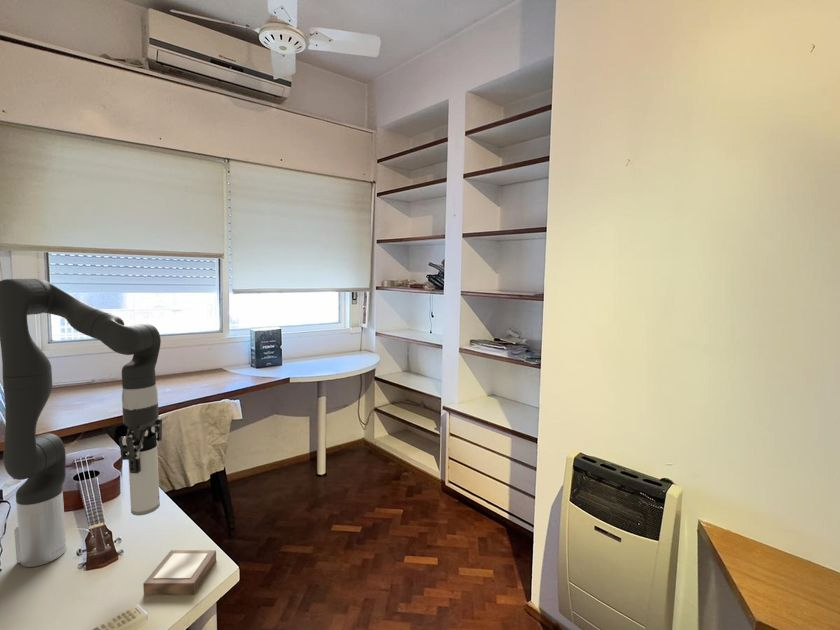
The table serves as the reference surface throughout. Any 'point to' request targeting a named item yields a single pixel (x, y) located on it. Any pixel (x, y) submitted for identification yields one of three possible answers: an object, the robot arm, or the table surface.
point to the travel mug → (145, 480)
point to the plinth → (180, 572)
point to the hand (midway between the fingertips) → (143, 466)
